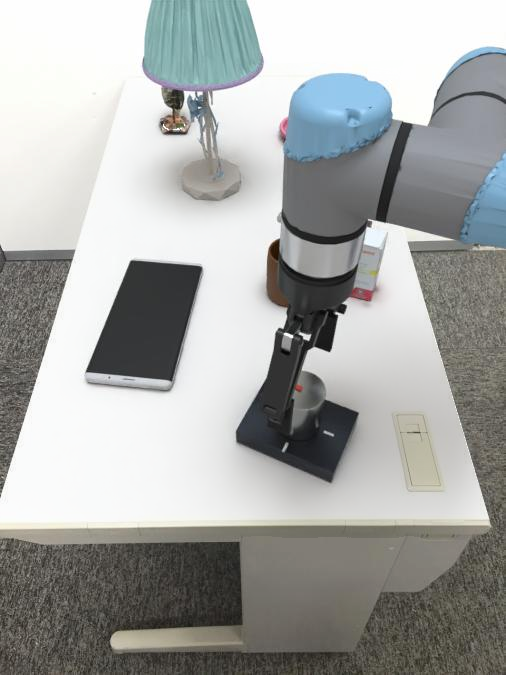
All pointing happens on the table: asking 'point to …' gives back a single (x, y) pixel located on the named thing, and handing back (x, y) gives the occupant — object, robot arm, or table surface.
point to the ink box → (369, 263)
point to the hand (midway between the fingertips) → (301, 385)
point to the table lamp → (203, 72)
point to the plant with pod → (174, 110)
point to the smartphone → (146, 325)
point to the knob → (307, 406)
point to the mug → (274, 275)
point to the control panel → (305, 455)
